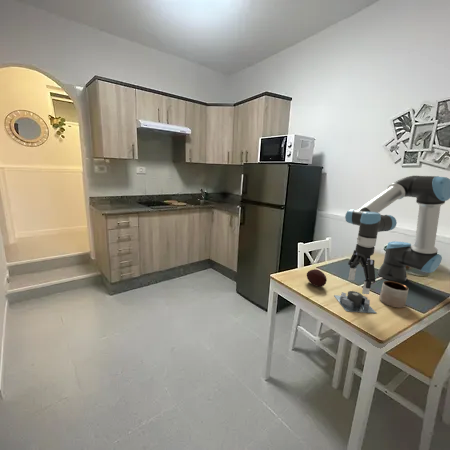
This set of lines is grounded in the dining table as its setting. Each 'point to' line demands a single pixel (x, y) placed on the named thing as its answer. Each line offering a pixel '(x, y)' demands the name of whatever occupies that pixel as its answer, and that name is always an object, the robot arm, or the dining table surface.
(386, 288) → the planter
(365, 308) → the blue square tray
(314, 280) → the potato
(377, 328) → the dining table surface
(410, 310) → the dining table surface
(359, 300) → the cap
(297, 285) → the dining table surface
